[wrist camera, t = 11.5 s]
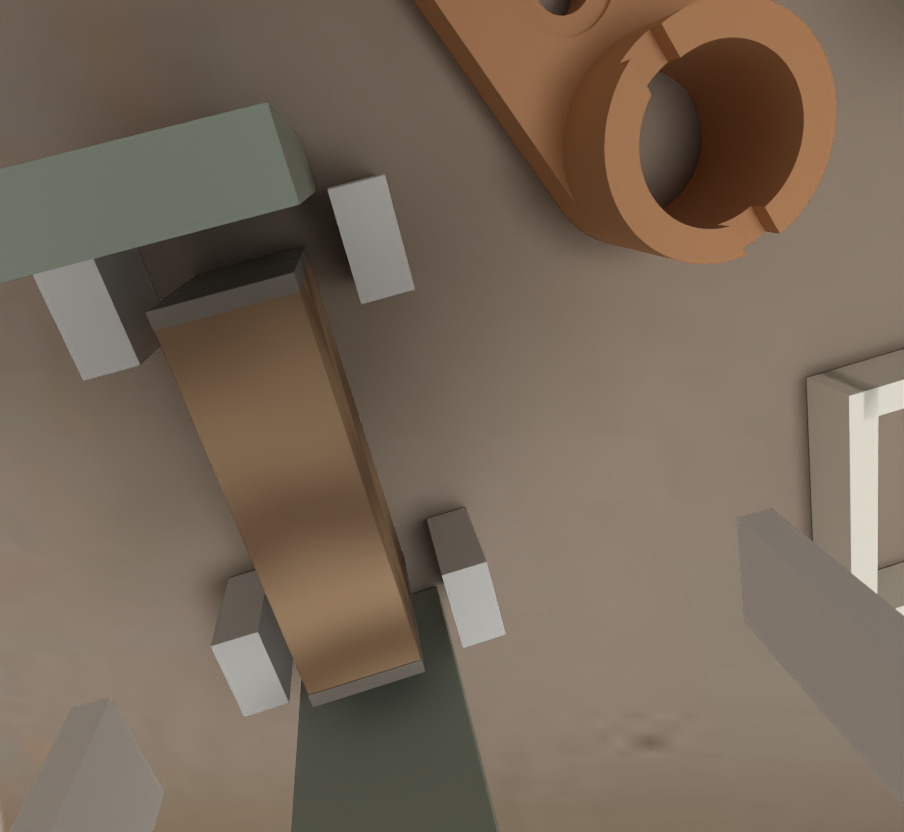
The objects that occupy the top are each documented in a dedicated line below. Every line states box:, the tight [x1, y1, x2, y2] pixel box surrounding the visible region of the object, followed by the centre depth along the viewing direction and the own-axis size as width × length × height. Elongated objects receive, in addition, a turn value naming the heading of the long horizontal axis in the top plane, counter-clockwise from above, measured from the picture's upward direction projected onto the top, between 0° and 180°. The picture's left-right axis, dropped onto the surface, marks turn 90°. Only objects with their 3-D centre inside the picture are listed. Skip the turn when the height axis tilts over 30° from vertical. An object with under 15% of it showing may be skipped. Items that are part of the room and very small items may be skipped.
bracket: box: [414, 0, 837, 264], centre depth 24 cm, size 18×8×7 cm, turn 39°
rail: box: [145, 246, 425, 707], centre depth 27 cm, size 16×4×8 cm, turn 14°
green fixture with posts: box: [0, 102, 505, 832], centre depth 24 cm, size 24×12×14 cm, turn 14°
